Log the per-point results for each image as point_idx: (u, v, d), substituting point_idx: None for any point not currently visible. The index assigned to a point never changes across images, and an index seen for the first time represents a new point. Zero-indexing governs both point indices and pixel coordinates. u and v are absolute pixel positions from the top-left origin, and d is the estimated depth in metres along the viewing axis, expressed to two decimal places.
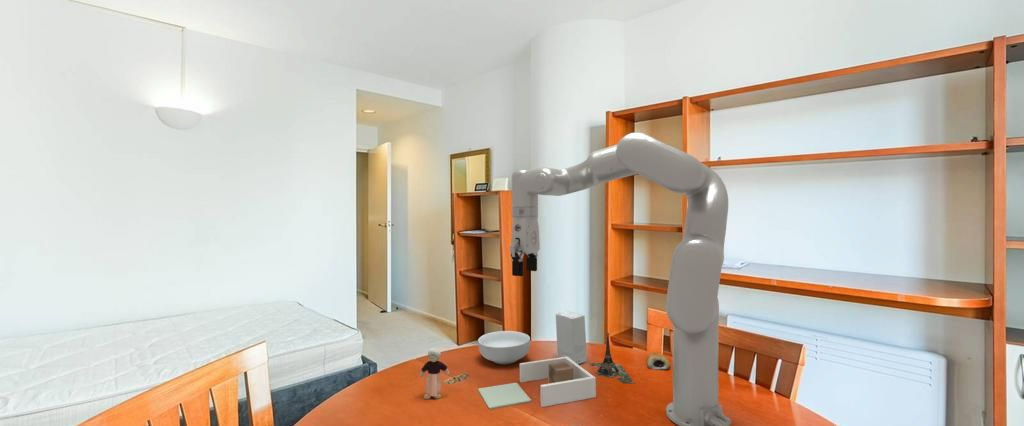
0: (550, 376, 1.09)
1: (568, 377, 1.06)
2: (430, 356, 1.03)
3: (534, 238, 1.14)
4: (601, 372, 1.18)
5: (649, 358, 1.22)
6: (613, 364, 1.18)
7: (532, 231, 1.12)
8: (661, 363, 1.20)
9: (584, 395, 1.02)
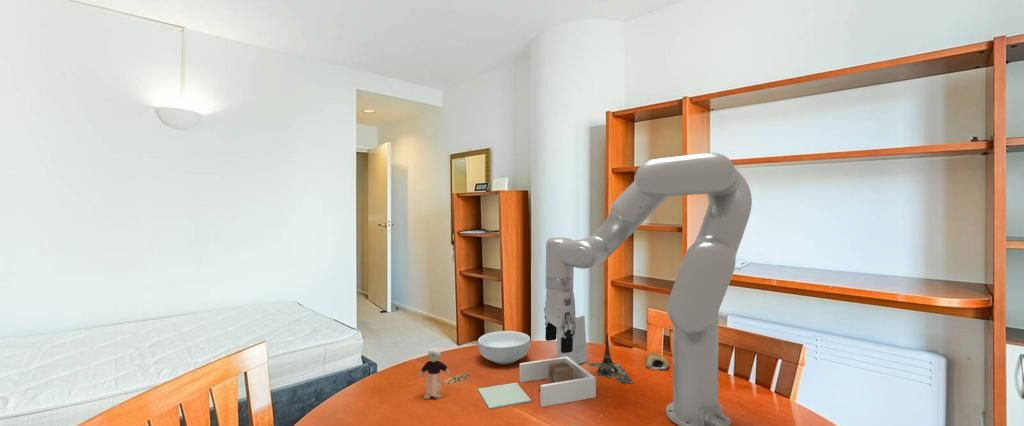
0: (550, 376, 1.09)
1: (568, 377, 1.06)
2: (430, 356, 1.03)
3: None
4: (600, 372, 1.18)
5: (648, 358, 1.22)
6: (612, 364, 1.18)
7: None
8: (660, 363, 1.20)
9: (584, 395, 1.02)
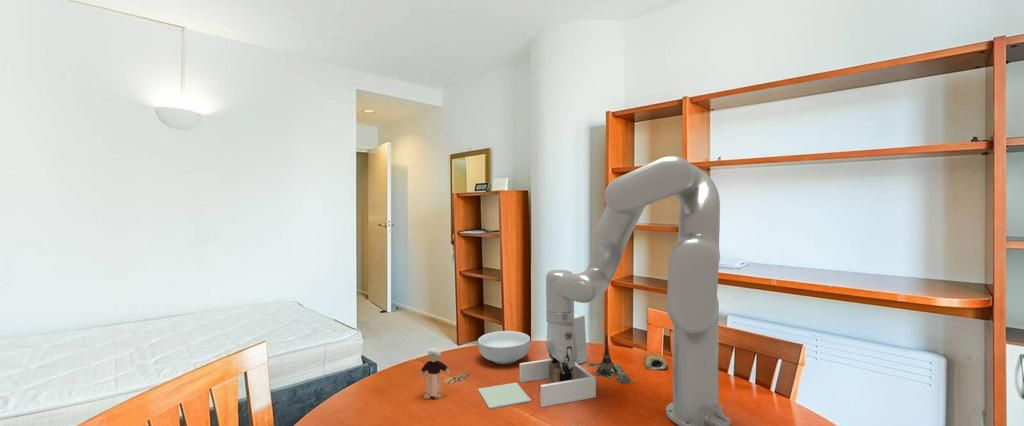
0: (550, 376, 1.09)
1: None
2: (430, 356, 1.03)
3: None
4: (600, 372, 1.18)
5: (647, 358, 1.22)
6: (612, 364, 1.18)
7: None
8: (659, 363, 1.20)
9: (584, 395, 1.02)
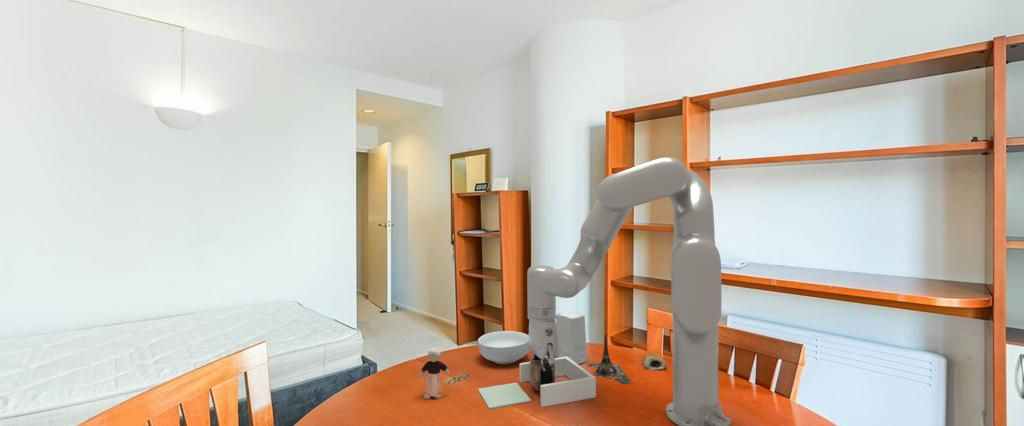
0: (531, 373, 1.07)
1: None
2: (430, 356, 1.03)
3: None
4: (599, 372, 1.18)
5: (646, 358, 1.22)
6: (611, 364, 1.17)
7: None
8: (658, 363, 1.20)
9: (584, 395, 1.02)
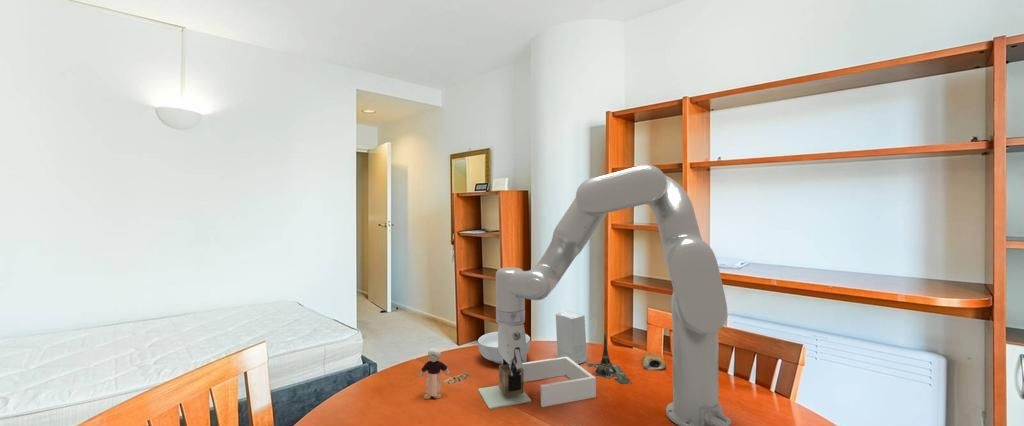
0: (500, 378, 1.04)
1: None
2: (430, 356, 1.03)
3: None
4: (599, 373, 1.18)
5: (645, 358, 1.22)
6: (611, 365, 1.17)
7: None
8: (657, 363, 1.20)
9: (584, 395, 1.02)
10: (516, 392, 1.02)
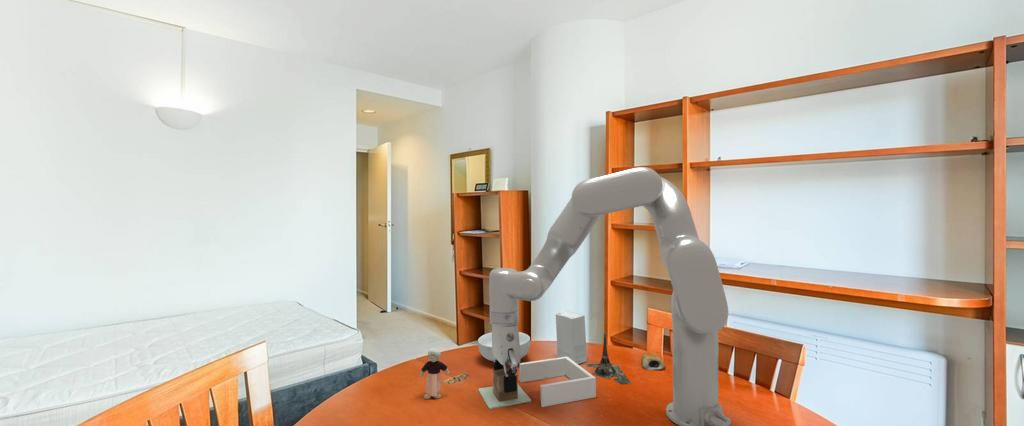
0: (494, 383, 1.04)
1: None
2: (430, 356, 1.03)
3: None
4: (598, 373, 1.18)
5: (644, 359, 1.22)
6: (610, 365, 1.17)
7: None
8: (656, 363, 1.20)
9: (584, 395, 1.02)
10: (510, 397, 1.01)
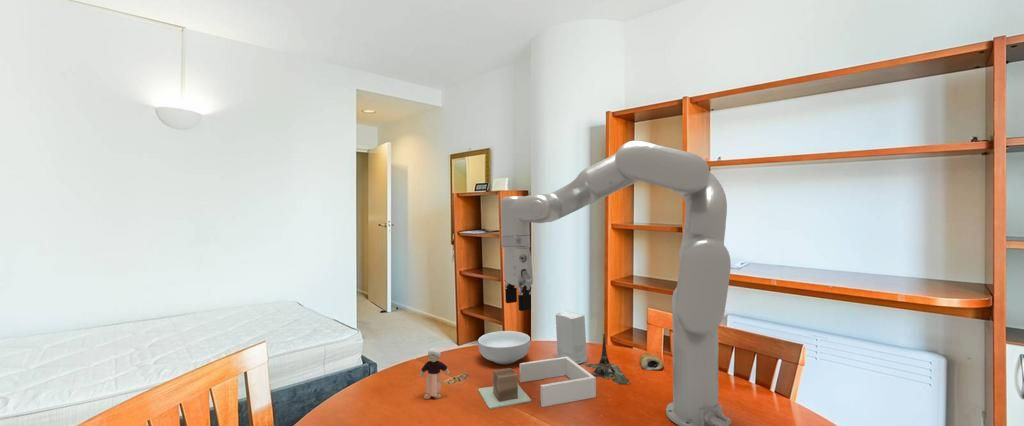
0: (494, 383, 1.04)
1: (512, 384, 1.01)
2: (430, 356, 1.03)
3: None
4: (597, 373, 1.17)
5: (643, 359, 1.22)
6: (609, 365, 1.17)
7: None
8: (655, 363, 1.20)
9: (584, 395, 1.02)
10: (510, 397, 1.01)
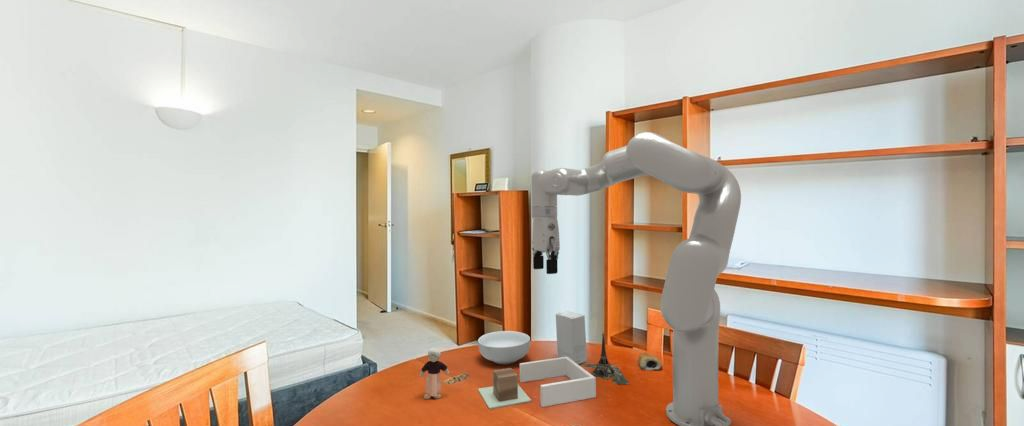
0: (494, 383, 1.04)
1: (512, 384, 1.01)
2: (430, 356, 1.03)
3: None
4: (597, 373, 1.17)
5: (641, 359, 1.22)
6: (609, 365, 1.17)
7: None
8: (654, 363, 1.20)
9: (584, 395, 1.02)
10: (510, 397, 1.01)
